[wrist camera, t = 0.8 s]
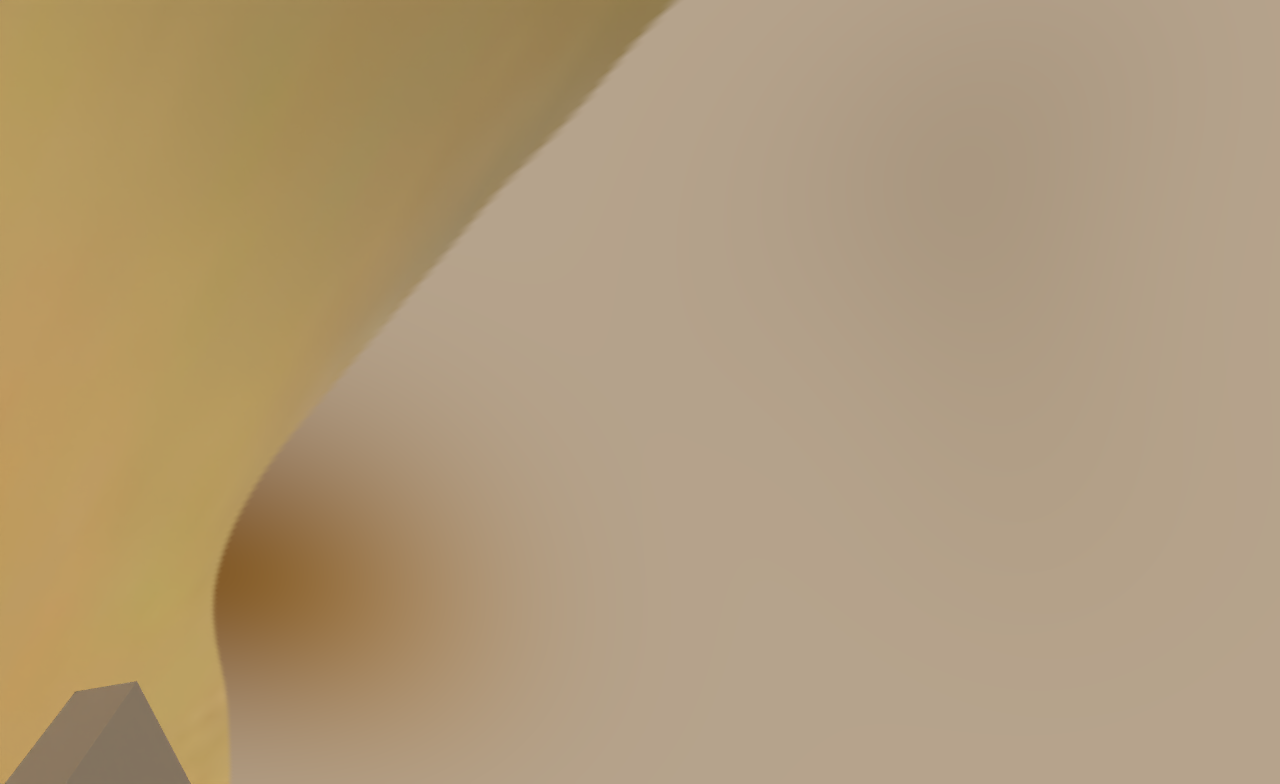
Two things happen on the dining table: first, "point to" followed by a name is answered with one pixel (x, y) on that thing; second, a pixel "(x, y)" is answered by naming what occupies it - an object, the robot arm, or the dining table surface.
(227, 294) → the dining table surface
